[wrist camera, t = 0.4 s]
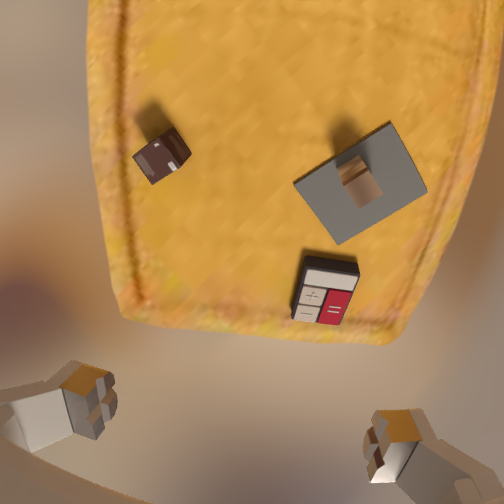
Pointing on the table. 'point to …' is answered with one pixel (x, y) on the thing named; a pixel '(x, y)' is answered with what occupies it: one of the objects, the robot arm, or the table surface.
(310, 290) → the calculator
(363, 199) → the block
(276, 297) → the table surface
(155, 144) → the box
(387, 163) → the mat
